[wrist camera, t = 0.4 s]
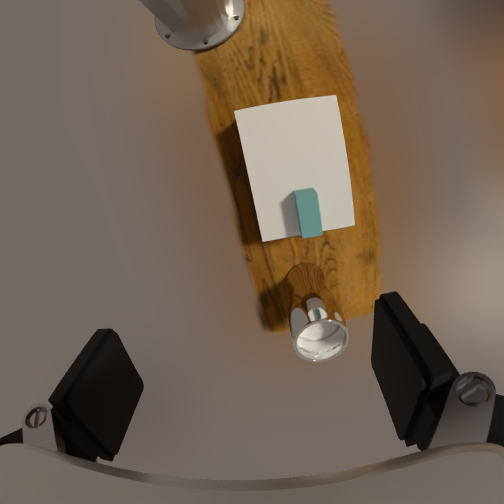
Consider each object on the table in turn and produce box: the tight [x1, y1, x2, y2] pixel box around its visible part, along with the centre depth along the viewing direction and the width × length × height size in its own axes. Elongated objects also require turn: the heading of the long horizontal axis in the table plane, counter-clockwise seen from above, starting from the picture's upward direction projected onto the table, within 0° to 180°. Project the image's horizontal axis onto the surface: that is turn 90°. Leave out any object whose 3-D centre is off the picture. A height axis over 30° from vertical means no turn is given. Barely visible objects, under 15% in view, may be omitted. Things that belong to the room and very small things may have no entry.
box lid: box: [234, 95, 355, 242], centre depth 32 cm, size 16×12×4 cm
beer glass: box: [286, 263, 349, 362], centre depth 38 cm, size 7×7×15 cm
